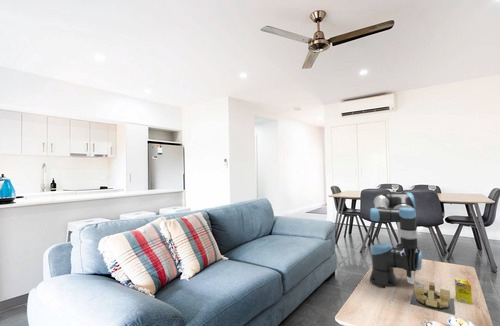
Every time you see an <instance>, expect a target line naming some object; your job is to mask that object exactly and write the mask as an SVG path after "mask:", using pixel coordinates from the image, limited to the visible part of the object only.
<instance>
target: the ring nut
mask: <svg viewBox="0 0 500 326" xmlns="http://www.w3.org/2000/svg"><path fill="white" fill-rule="evenodd" d="M414 283H415V284H413V290H414V293H416V299H417V300H418V301H420V302H421V303H423V304H426V305H428V306H432V307H437V306H438V307H439V308H444V307H448V306H449V300H450V301H451V299H450V298H451V290H448V289H444V288H439V292H438V290H437V291H436V283H435V282H433V281H429V282H428V286H429V287H428V289H426V288H424V284H422V283H416V282H414ZM427 295H428V297H427ZM434 295H435V296H436V297H437V299H435V298H434Z"/></svg>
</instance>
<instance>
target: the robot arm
mask: <svg viewBox="0 0 500 326" xmlns="http://www.w3.org/2000/svg"><path fill="white" fill-rule="evenodd" d="M415 200H416V199H415V196H414V194H413V193H412V192H409V191H408V192H407V191H403V192H400V191H399V192H398V191H395V192H394V191H385V192H381V193H379V194H377V195H376V196H375V197H374V198H373V205H374V207H372V208H369V210H370V211H369V217H370V221H373V222H387V223H390V222H391V223H396V225H397V236H398V237H397V239H398V243H397V244H396V245H395V247H393V245H392V244H390V243H385V242H384V243H377V244H374V245H372V247H371V268H372V269H371V272H370V276H369V281H370V284H371V285H374V286H376V287H378V288H383V289H385V288H386V287H387V288H388V287H389V288H390V287H396V286H397V285H398V279H397V277H396V274H395V272H394V268H395V269H403V270H404V271H406V277H407V279H406V280H407V283H409V284H411V285H414V284H415V283H416V282H415V272H417V271H420V270H421V269H422V261H423V260H422V259H423V252H422V251H423V250H421V249H419V246H418V233H417V213H416V206H417V205H416V201H415Z"/></svg>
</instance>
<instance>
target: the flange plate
mask: <svg viewBox="0 0 500 326" xmlns="http://www.w3.org/2000/svg"><path fill="white" fill-rule="evenodd" d="M427 297H428V295H427ZM434 298H435V299H437V297H436V296H435V295H434ZM450 299H451V301H450V300H449V306H448V307H444V308H439V307H438V306H437V307H432V306H428V305H426V304H423V303H421V302H420V301H418V300H417V299H416V293H414V289H413V291H412V293H411V299H410V303H409V304H410V305H412V306H416V307H420V308H424V309H428V310H432V311H436V312H440V313H444V314H448V315H453V316H456V309H455V308H456V307H455V299H454V298H452V297H450Z"/></svg>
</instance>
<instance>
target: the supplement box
mask: <svg viewBox="0 0 500 326" xmlns="http://www.w3.org/2000/svg"><path fill="white" fill-rule="evenodd" d="M454 287H455V288H454V289H455V299H456V301H457V302H458V303H464V304H468V305H473V297H472V284H471V281H470V280H467V279H461V278H454Z"/></svg>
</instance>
